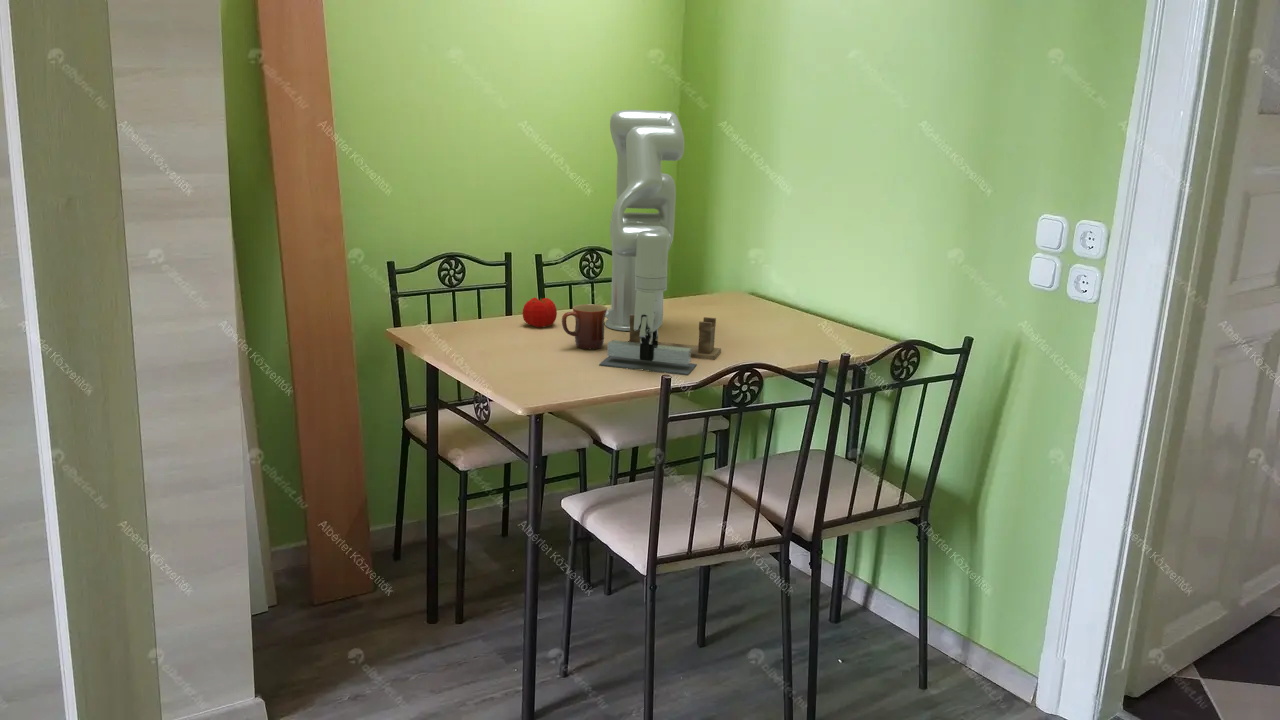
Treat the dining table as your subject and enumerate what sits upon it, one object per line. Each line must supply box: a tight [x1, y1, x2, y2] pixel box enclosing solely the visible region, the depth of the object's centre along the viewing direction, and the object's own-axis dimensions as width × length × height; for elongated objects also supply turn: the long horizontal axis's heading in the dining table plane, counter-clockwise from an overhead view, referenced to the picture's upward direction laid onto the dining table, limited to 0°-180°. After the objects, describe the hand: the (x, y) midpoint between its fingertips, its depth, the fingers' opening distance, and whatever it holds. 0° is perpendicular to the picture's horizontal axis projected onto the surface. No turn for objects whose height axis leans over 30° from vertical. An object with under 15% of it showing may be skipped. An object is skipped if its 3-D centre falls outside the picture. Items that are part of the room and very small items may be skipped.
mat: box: [598, 356, 697, 376], centre depth 242 cm, size 22×9×1 cm, turn 74°
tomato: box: [522, 297, 558, 329], centre depth 276 cm, size 9×9×8 cm
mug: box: [561, 303, 608, 351], centre depth 255 cm, size 12×9×10 cm
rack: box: [627, 315, 722, 361], centre depth 254 cm, size 24×8×9 cm, turn 74°
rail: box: [606, 339, 691, 365], centre depth 241 cm, size 20×3×3 cm, turn 74°
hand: (648, 357), depth 241 cm, fingers closed on rail, 3 cm apart
